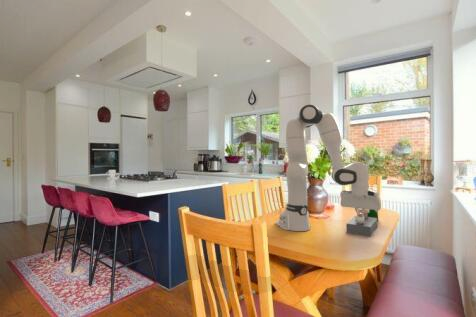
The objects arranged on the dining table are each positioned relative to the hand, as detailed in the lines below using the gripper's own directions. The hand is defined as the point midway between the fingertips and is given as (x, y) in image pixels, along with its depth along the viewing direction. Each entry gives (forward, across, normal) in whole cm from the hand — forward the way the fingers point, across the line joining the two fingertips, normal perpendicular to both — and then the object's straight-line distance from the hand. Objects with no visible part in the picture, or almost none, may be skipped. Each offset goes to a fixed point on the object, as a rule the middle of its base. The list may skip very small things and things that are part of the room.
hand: (360, 216), depth 139 cm
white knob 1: (+7, 0, 0) cm, 7 cm away
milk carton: (+9, -1, +33) cm, 35 cm away
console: (+9, 0, +8) cm, 12 cm away
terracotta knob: (+4, 0, +8) cm, 9 cm away
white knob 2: (+4, 0, +16) cm, 16 cm away
